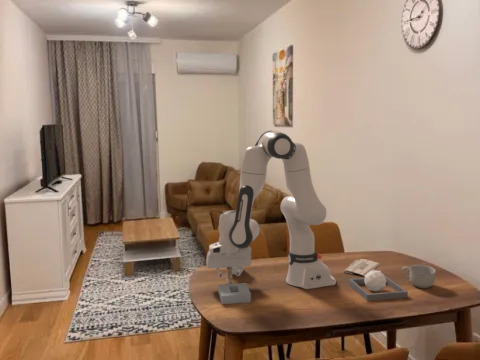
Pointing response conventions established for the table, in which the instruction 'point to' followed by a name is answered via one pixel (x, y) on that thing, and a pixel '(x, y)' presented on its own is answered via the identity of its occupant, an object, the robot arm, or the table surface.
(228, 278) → the wooden peg
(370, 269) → the newspaper
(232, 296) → the grey peg hole block
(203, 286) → the table surface
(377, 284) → the decorative ball
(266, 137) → the robot arm
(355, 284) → the grey rectangular frame
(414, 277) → the teacup
